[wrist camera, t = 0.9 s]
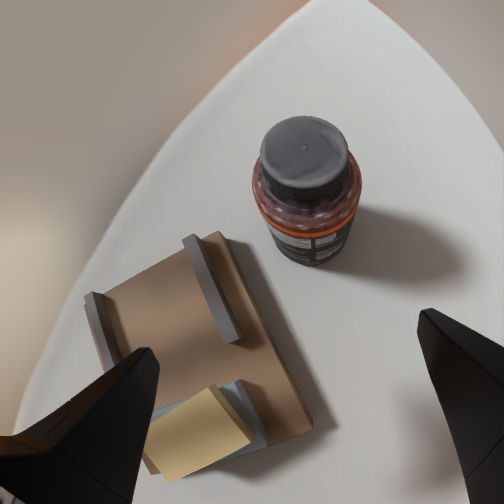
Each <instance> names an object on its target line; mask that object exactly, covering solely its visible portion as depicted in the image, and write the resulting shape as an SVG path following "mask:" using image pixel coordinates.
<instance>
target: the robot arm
mask: <svg viewBox="0 0 504 504" xmlns="http://www.w3.org/2000/svg"><path fill="white" fill-rule="evenodd" d="M417 335H418V339H419V342H420V345H421V349H422V352H423V355H424V359H425V362H426V366H427V369H428V372H429V375H430V378H431V381H432V383H433V386H434V388H435V391H436V393H437V396H438V399H439V401H440V404H441V407H442V409H443V412H444V415H445V418H446V420H447V423H448V426H449V429H450V432H451V435H452V438H453V441H454V445H455V448H456V451H457V454H458V458H459V461H460V465H461V468H462V472H463V476H464V479H465V484H466V488H467V492H468V496H469V501H470V504H504V347H502V346H501V345H499V344H497V343H495V342H494V341H492V340H490V339H488V338H487V337H485V336H483V335H481V334H479V333H478V332H476V331H474V330H472V329H470V328H469V327H467V326H465V325H463V324H461V323H459V322H458V321H456V320H454V319H452V318H450V317H448V316H446V315H445V314H443V313H441V312H439V311H437V310H435V309H433V308H428V309H424V310H421V311H420V314H419V321H418V328H417ZM159 374H160V365H159V362H158V360H157V358H156V357H155V355H154V353H153V351H152V349H151V348H150V347H139V348H137V349H136V350H135V351H133V352H132V353H131V354H129V355H128V356H127V357H126V358H124V359H123V360H122V361H120V362H119V363H118V364H116V365H115V366H114V367H112V368H111V369H110V370H109V371H107V372H106V373H105V374H103V375H102V376H101V377H99V378H98V379H97V380H95V381H94V382H93V383H91V384H90V385H89V386H87V387H86V388H85V389H83V390H82V391H81V392H80V393H78V394H77V395H76V396H74V397H73V398H72V399H70V401H68V402H66V403H65V404H64V405H62V406H61V407H60V408H58V409H57V410H55V411H54V412H53V413H51V414H50V415H48V416H47V417H45V418H43V419H42V420H40V421H39V422H37V423H36V424H34V425H32V426H31V427H29V428H28V429H26V430H24V431H23V432H21V433H19V434H16V435H13V436H0V504H132V500H133V495H134V490H135V485H136V481H137V476H138V472H139V467H140V463H141V458H142V454H143V450H144V446H145V442H146V438H147V433H148V429H149V425H150V422H151V418H152V414H153V410H154V405H155V400H156V393H157V386H158V380H159Z"/></svg>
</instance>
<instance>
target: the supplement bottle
mask: <svg viewBox="0 0 504 504" xmlns="http://www.w3.org/2000/svg"><path fill="white" fill-rule="evenodd" d="M361 188H362V179H361V172H360V169H359V166H358V164H357V162H356V160H355V158H354V156H353V155H352V154H351V152H350V151H349V150H348V145H347V142H346V140H345V138H344V136H343V134H342V133H341V132H340V131H339V130H338V129H337V128H336V127H335V126H334V125H332V124H331V123H329V122H327V121H325V120H323V119H320V118H316V117H312V116H297V117H291V118H288V119H285V120H283V121H281V122H279V123H277V124H276V125H275V126H273V127H272V128H271V129H270V130H269V131H268V132H267V134H266V135H265V137H264V139H263V141H262V144H261V149H260V156H259V158H258V160H257V162H256V164H255V166H254V170H253V175H252V189H253V193H254V197H255V200H256V203H257V205H258V207H259V209H260V212H261V214H262V216H263V218H264V220H265V222H266V224H267V227H268V229H269V231H270V233H271V235H272V237H273V240H274V242H275V243H276V245H277V247H278V248H279V250H280V251H281V252H282V253H283V254H284V255H285V256H286V257H287V258H289V259H290V260H292V261H294V262H297V263H300V264H304V265H316V264H321V263H324V262H326V261H328V260H330V259H332V258H333V257H335V256H336V255H337V254H338V253H339V252H340V250H341V249H342V248H343V246H344V244H345V242H346V240H347V237H348V234H349V231H350V228H351V225H352V222H353V219H354V216H355V213H356V210H357V206H358V203H359V198H360V194H361Z"/></svg>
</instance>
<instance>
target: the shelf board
mask: <svg viewBox="0 0 504 504" xmlns="http://www.w3.org/2000/svg"><path fill="white" fill-rule="evenodd" d="M182 242H183V245H184V247H185V248H184V249H182V250H181V251H179V252H177V253H175V254H173V255H171V256H170V257H168V258H166V259H164V260H162V261H160V262H159V263H157V264H155V265H153V266H151V267H150V268H148V269H146V270H144V271H142V272H141V273H139V274H137V275H135V276H134V277H132V278H130V279H128V280H127V281H125V282H123V283H121V284H120V285H118V286H116V287H114V288H113V289H111V290H109V291H107V292H106V293H104V294H100V293H96V292H90V293H89V294H87V295H85V296H84V298H85V302H86V304H85V305H84V307H85V311H86V315H87V319H88V322H89V326H90V329H91V333H92V336H93V340H94V343H95V346H96V349H97V352H98V355H99V358H100V361H101V364H102V367H103V370H104V373H106V372H107V371H109V370H110V369H111V368H112V367H114V366H115V365H116V364H118V363H119V362H120V361H122V360H123V359H124V358H126V357H127V356H128V355H129V354H131V353H132V352H133V351H135V350H136V349H137V348H139V347H150V348H151V349H152V351H153V353H154V355H155V357H156V358H157V360H158V362H159V365H160V374H159V380H158V386H157V393H156V400H155V405H154V410H153V414H152V418H151V422H150V425H149V429H148V433H147V438H146V442H145V446H144V450H143V454H142V459H143V461H144V463H145V465H146V467H147V468H148V470H149V472H150V474H151V475H153V474H160V473H161V474H162V475H163V476H164V477H165V479H166V480H167V481H168V482H169V483H170V482H172V481H174V480H177V479H179V478H182V477H184V476H186V475H188V474H191V473H193V472H195V471H197V470H199V469H201V468H203V467H206V466H208V465H210V464H212V463H215V462H219V461H222V460H226V459H230V458H233V457H237V456H240V455H244V454H247V453H250V452H253V451H256V450H259V449H262V448H265V447H268V446H270V445H273V444H276V443H279V442H282V441H284V440H287V439H290V438H292V437H295V436H297V435H300V434H302V433H305V432H307V431H310V430H312V429H313V420H312V418H311V416H310V414H309V412H308V410H307V408H306V406H305V404H304V402H303V400H302V398H301V396H300V394H299V392H298V390H297V388H296V386H295V384H294V382H293V380H292V378H291V376H290V374H289V372H288V370H287V368H286V366H285V363H284V361H283V359H282V357H281V355H280V353H279V351H278V349H277V347H276V345H275V343H274V341H273V339H272V336H271V334H270V332H269V330H268V328H267V326H266V324H265V322H264V320H263V318H262V315H261V313H260V311H259V309H258V307H257V305H256V303H255V301H254V298H253V296H252V294H251V292H250V290H249V288H248V286H247V284H246V281H245V279H244V277H243V275H242V273H241V271H240V268H239V266H238V264H237V262H236V260H235V258H234V256H233V253H232V251H231V249H230V247H229V245H228V242H227V240H226V238H225V237H224V236H223V235H222V234H221V233H220V232H219V231H216V232H214V233H212V234H210V235H208V236H207V237H205V238H203V239H200V238H199V237H197V236H196V235H195V234H194V233H193V234H191V235H190V236H188V237H186V238H184V239H182Z"/></svg>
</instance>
